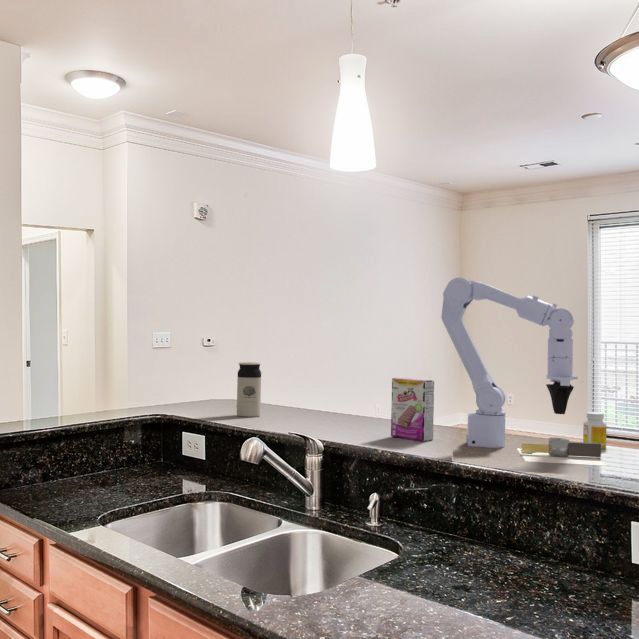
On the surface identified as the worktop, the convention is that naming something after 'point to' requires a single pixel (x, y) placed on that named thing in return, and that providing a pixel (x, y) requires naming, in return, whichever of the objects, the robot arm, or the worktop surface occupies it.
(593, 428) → the supplement bottle
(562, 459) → the board
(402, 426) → the candy bar box
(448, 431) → the worktop surface
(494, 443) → the robot arm
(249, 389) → the travel mug
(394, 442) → the worktop surface
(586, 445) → the dial pointer
